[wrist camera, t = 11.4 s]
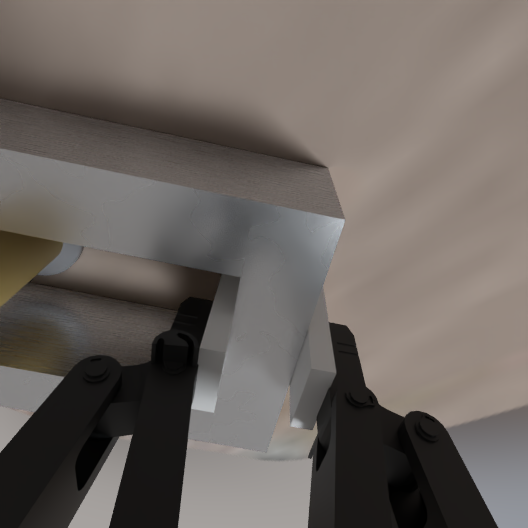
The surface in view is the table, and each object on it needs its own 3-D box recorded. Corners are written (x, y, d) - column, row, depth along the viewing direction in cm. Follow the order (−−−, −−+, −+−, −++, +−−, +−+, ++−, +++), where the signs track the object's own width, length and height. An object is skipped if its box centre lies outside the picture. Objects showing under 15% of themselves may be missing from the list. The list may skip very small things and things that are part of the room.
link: (-67, 302, 19) (-172, 376, 15) (-148, 66, 13) (-355, 74, 9) (271, 365, 20) (266, 452, 16) (328, 168, 14) (345, 219, 10)
